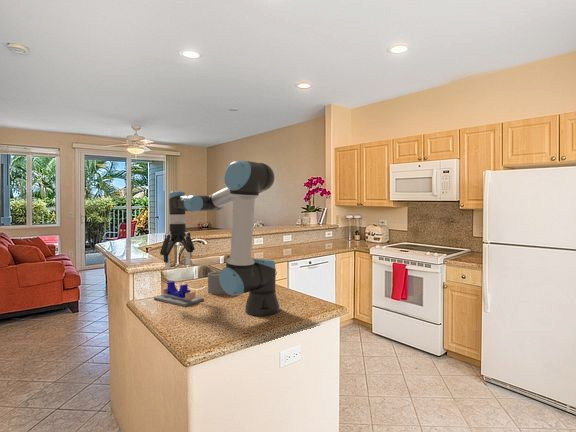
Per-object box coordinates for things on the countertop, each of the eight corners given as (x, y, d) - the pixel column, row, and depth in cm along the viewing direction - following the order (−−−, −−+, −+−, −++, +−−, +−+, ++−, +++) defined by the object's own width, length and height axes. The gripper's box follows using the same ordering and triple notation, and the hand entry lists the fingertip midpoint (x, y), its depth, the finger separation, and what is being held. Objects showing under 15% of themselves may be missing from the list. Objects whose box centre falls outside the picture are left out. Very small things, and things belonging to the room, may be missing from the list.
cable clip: (190, 296, 172) (190, 283, 172) (182, 298, 168) (182, 285, 168) (175, 292, 179) (175, 280, 179) (167, 294, 175) (167, 282, 175)
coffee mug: (227, 293, 186) (227, 274, 185) (208, 294, 183) (207, 275, 183) (226, 287, 199) (225, 269, 198) (207, 288, 196) (207, 270, 196)
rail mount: (203, 300, 173) (203, 290, 173) (184, 306, 163) (184, 296, 162) (173, 294, 184) (173, 284, 184) (153, 299, 174) (153, 289, 174)
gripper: (191, 221, 184) (191, 262, 185) (151, 224, 164) (152, 270, 165) (201, 222, 180) (201, 264, 181) (162, 224, 160) (162, 272, 161)
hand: (178, 267), depth 173 cm, fingers open, 12 cm apart
